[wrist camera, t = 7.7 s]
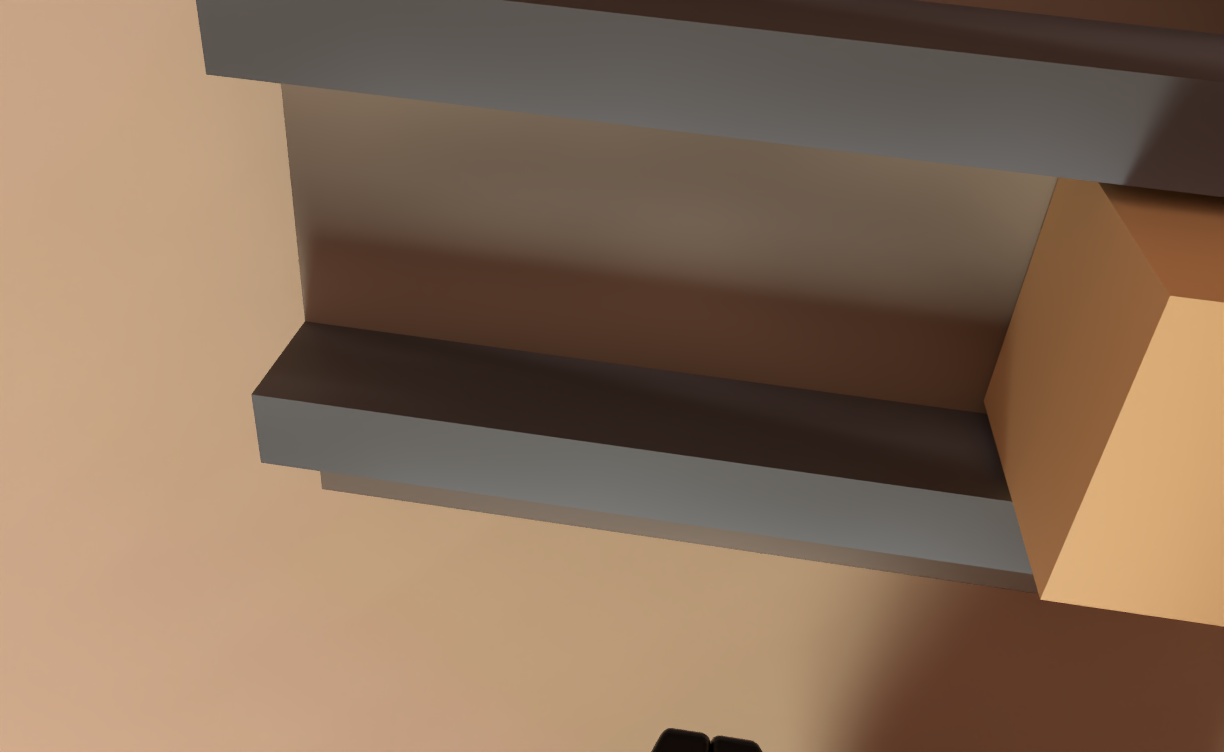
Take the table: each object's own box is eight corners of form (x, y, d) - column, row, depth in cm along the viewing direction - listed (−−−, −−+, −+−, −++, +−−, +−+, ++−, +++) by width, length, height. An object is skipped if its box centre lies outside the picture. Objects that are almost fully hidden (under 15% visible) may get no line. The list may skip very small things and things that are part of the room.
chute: (1216, 586, 22) (1281, 723, 19) (338, 460, 23) (276, 570, 21) (1623, -148, 14) (1836, -104, 11) (272, -279, 16) (157, -270, 13)
